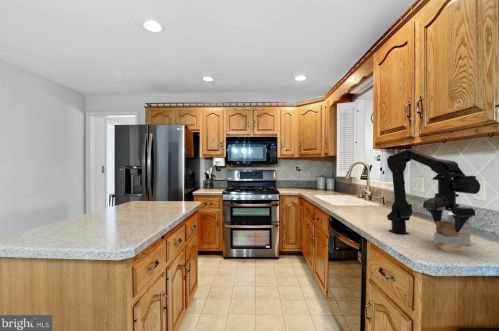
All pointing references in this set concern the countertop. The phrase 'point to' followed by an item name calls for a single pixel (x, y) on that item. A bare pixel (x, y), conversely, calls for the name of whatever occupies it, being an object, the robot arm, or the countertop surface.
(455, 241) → the tower mid
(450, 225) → the walnut cube
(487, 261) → the countertop surface
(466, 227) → the supplement box
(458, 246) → the tower base
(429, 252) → the countertop surface
